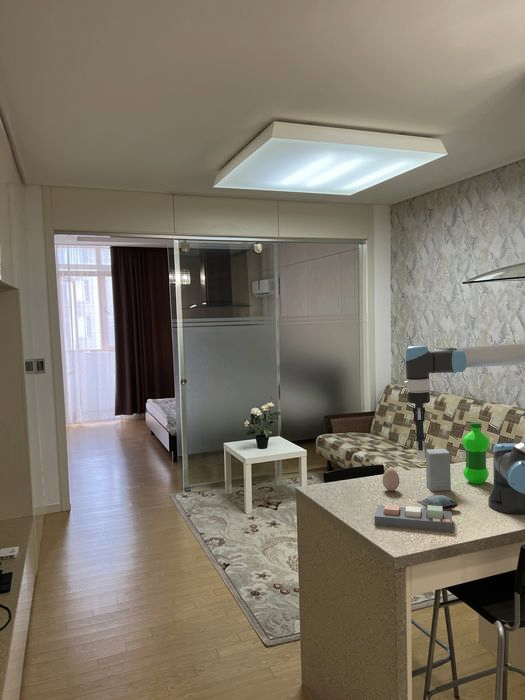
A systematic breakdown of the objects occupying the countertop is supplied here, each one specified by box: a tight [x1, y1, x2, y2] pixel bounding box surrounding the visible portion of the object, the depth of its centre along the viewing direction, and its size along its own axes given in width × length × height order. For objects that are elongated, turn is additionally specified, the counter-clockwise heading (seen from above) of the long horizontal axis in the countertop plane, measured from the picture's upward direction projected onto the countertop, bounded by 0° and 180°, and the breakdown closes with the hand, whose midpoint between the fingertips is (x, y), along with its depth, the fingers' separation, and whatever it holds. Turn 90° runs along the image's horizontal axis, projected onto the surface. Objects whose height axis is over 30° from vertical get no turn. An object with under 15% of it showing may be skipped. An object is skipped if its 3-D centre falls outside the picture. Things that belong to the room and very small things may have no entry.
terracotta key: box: [384, 504, 401, 515], centre depth 181 cm, size 5×5×4 cm
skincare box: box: [425, 448, 452, 492], centre depth 213 cm, size 8×7×16 cm
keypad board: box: [373, 504, 453, 533], centre depth 179 cm, size 25×11×3 cm, turn 72°
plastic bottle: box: [462, 421, 490, 485], centre depth 220 cm, size 10×10×25 cm
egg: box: [381, 467, 400, 492], centre depth 212 cm, size 7×7×9 cm
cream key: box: [405, 505, 422, 517], centre depth 179 cm, size 5×5×4 cm
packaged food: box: [416, 494, 459, 511], centre depth 191 cm, size 9×12×5 cm
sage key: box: [426, 505, 443, 519], centre depth 177 cm, size 5×5×4 cm
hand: (420, 458), depth 183 cm, fingers closed
